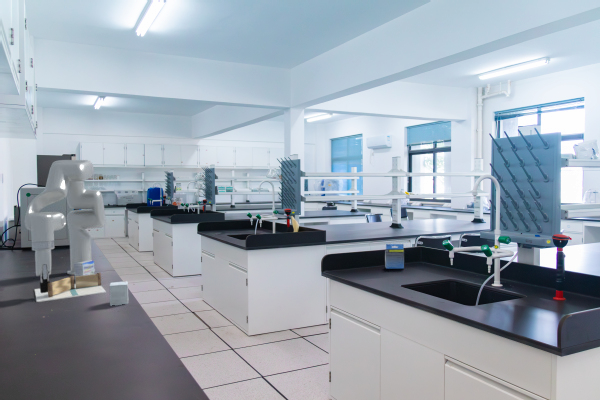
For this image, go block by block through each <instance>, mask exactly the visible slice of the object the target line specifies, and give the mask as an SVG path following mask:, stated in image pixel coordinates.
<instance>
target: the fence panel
mask: <svg viewBox="0 0 600 400" xmlns="http://www.w3.org/2000/svg"><path fill="white" fill-rule="evenodd" d="M70 289H71V278H69V276H68V277H65V278H62V279H59V280H55V281H52V282H50V283H48V297H52V296H53V295H56V294H59V293H61V292H64V291H67V290H70Z"/></svg>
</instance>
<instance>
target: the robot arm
mask: <svg viewBox="0 0 600 400" xmlns="http://www.w3.org/2000/svg"><path fill="white" fill-rule="evenodd" d="M94 168H95V167H94V165H93V162H91V160H88V159H85V160H84V159H82V160H81V159H79V160H78V159H60V160H55V161H53V162H52V164H51V166H50V168H49V172H48V175H47V180H46V184H45V186H44V187H45V188H44V190H43V191H42V192H40V193H39V194H38V195H36V196H35V197H34V198H33V199H32V200H31V201H30V202H29V204H28V205H27V209H26V212H25V217H24V226H25V228H26V230H28V231H30V233H31V234H30V235H31V236H30V237H31V251H34V260H35V275H36V277H40V278H39V279H40V282H39V289H40V292H41V293H46V292H48V283H51V282H50V278H49V277H50V275H52V250H54V249H55V231H60V230H63V228H64V227H65V226H66V224H67V227H68V235H69V236H68V237H69V258H70V269H69V270H67V271H66V273H67V275H69V276H75V269H74V264H75V263H79V262H83V261H88V260H91V261H93V260H92V238H91V234H89V232H88V231H87V230H86V229H101V228H103V227H104V226H105V225H106V220H107V219H106V212H105V204H104V198H103V193H102V192H101V190H99V189H86V187H85V181H88V180H89V179H91V178H92V176H93V175H94V172H95V171H94V170H95V169H94ZM64 199H66V202H67V205H68V207H69V208H70V209H73V210H71V211H69V212H68V213H67V215H66V216H65V215H64V213H62V212H59V211H44V212H43V211H41V210H43V209H44V208H45V207H47V206H49V205H53V204H54V203H57V202H59V201H62V200H64ZM40 211H41V212H40ZM95 272H96V268H94V273H95Z"/></svg>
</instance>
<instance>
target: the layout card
mask: <svg viewBox="0 0 600 400" xmlns="http://www.w3.org/2000/svg"><path fill="white" fill-rule="evenodd" d="M74 284H75V289H70V290H67V291H64V292H61V293H59V294H56V295H53V296H52V297H48V292H46V293H41V292H40V288H34V294H35V301H36V303H43V302H49V301H50V302H51V301H56V300H65V299H69V298H79V297H85V296H92V295H99V294H106V293H107V291H106V290H105V288H104V287H103V286H102V284H101V285H99V286H91V287H83V288H76V283H74Z"/></svg>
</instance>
